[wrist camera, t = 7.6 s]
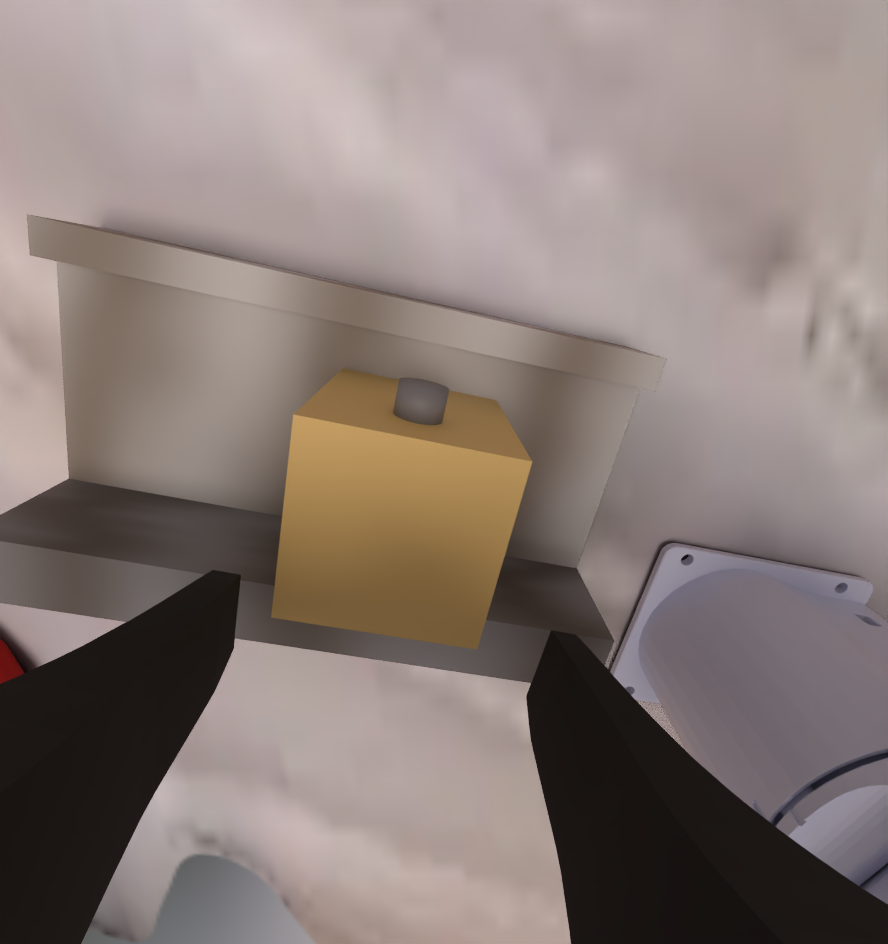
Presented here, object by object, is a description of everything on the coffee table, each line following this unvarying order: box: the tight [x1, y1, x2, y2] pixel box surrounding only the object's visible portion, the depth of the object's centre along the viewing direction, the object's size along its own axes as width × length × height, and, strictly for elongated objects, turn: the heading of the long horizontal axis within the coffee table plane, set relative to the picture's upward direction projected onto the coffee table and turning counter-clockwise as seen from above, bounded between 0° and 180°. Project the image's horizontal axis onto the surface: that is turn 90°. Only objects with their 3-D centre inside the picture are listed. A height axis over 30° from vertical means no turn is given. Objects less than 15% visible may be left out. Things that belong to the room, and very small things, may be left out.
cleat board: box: [0, 215, 667, 683], centre depth 15 cm, size 18×10×6 cm, turn 78°
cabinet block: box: [271, 368, 532, 650], centre depth 14 cm, size 5×6×6 cm
